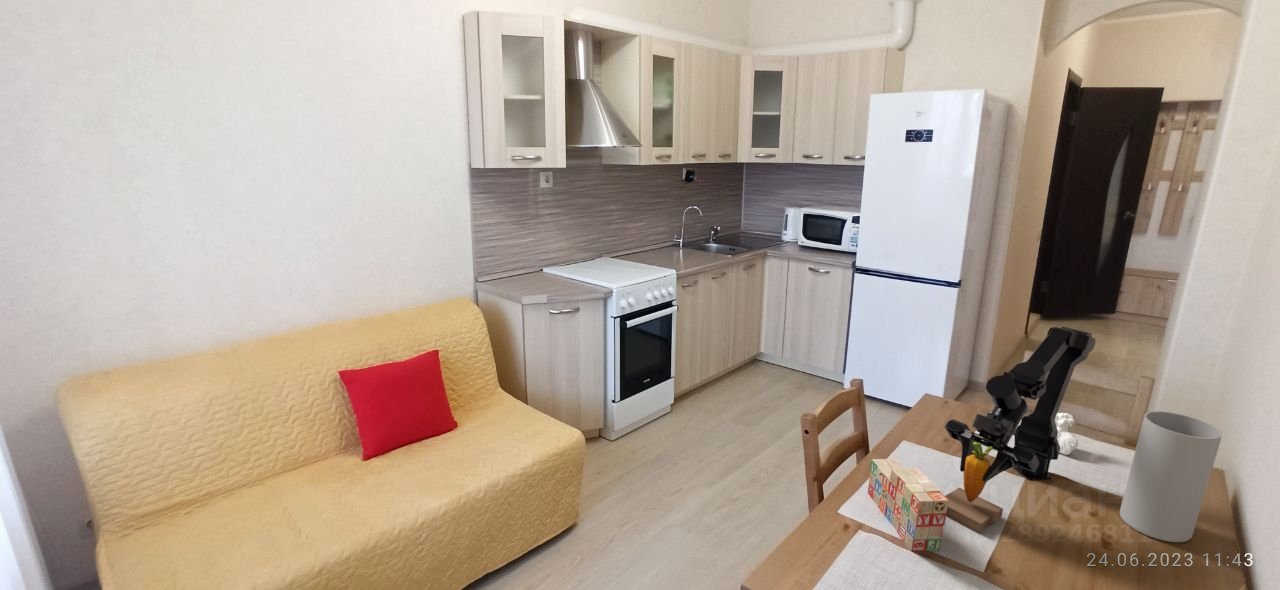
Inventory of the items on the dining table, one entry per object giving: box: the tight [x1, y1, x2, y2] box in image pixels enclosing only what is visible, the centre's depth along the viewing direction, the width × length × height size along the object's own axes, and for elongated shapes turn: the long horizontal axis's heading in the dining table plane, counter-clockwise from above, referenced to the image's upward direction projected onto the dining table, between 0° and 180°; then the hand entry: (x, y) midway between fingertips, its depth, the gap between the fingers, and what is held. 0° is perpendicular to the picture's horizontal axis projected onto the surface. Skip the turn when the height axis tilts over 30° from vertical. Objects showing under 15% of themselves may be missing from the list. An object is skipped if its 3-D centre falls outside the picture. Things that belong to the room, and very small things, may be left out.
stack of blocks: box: [867, 458, 949, 553], centre depth 133 cm, size 21×6×12 cm, turn 4°
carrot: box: [962, 442, 994, 502], centre depth 134 cm, size 5×5×15 cm
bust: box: [1055, 412, 1079, 456], centre depth 167 cm, size 12×8×11 cm
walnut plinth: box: [944, 487, 1004, 535], centre depth 136 cm, size 10×10×2 cm
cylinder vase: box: [1119, 410, 1223, 543], centre depth 131 cm, size 12×12×25 cm
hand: (972, 476), depth 133 cm, fingers closed on carrot, 5 cm apart
